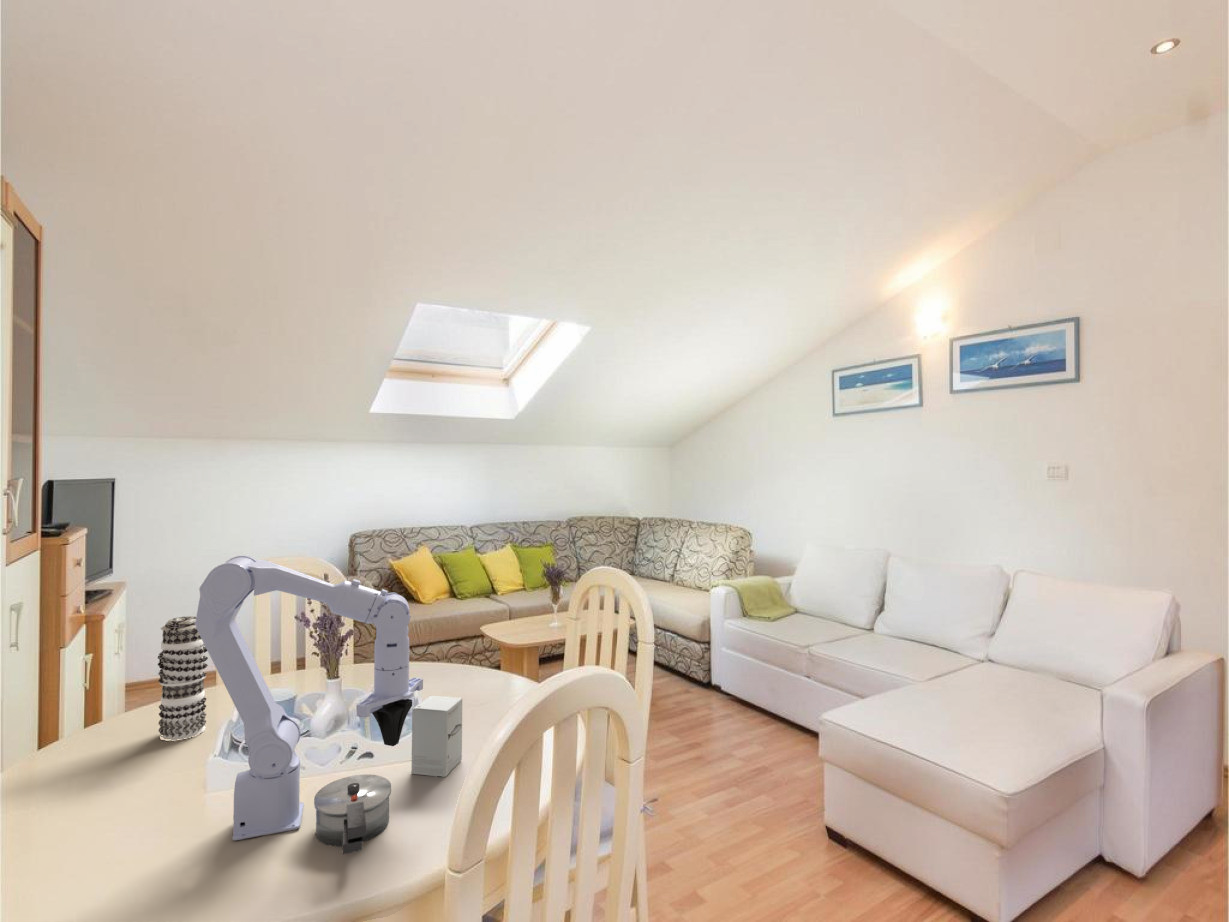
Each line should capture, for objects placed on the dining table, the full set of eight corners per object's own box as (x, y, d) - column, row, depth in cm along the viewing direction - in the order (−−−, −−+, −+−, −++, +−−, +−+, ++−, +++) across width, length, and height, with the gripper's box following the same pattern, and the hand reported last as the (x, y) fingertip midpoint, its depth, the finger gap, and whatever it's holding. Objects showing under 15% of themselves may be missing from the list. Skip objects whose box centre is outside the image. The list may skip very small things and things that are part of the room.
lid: (314, 787, 107) (314, 776, 107) (387, 773, 112) (387, 763, 112) (312, 847, 90) (312, 834, 90) (398, 828, 95) (399, 816, 95)
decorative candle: (216, 730, 141) (217, 617, 141) (168, 746, 133) (169, 626, 133) (195, 721, 146) (196, 612, 146) (149, 736, 138) (150, 620, 138)
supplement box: (446, 778, 120) (446, 711, 120) (410, 774, 121) (410, 707, 122) (463, 760, 127) (463, 697, 127) (429, 757, 129) (429, 694, 129)
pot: (310, 880, 90) (310, 849, 90) (318, 815, 107) (318, 788, 107) (392, 863, 94) (392, 832, 94) (387, 803, 111) (387, 777, 111)
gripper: (380, 681, 103) (380, 766, 103) (436, 656, 116) (436, 731, 116) (346, 676, 105) (346, 758, 105) (405, 652, 119) (405, 725, 119)
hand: (391, 743), depth 111 cm, fingers closed
